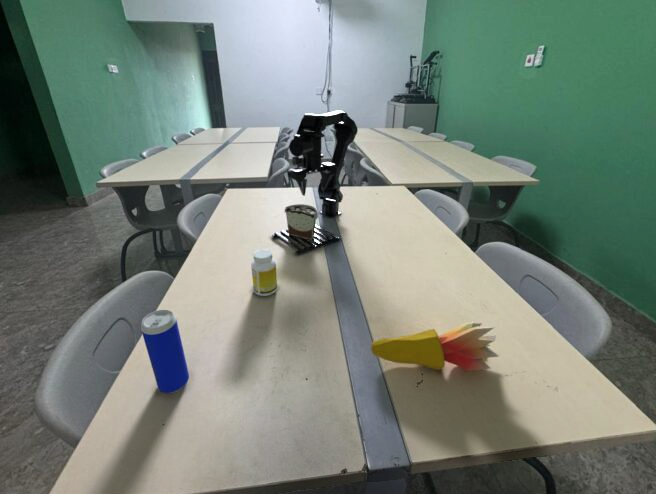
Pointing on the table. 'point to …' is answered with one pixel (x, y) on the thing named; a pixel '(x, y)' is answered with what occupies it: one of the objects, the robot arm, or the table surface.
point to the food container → (301, 220)
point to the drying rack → (305, 247)
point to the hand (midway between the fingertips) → (313, 192)
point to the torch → (440, 348)
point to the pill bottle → (264, 273)
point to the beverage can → (165, 350)
